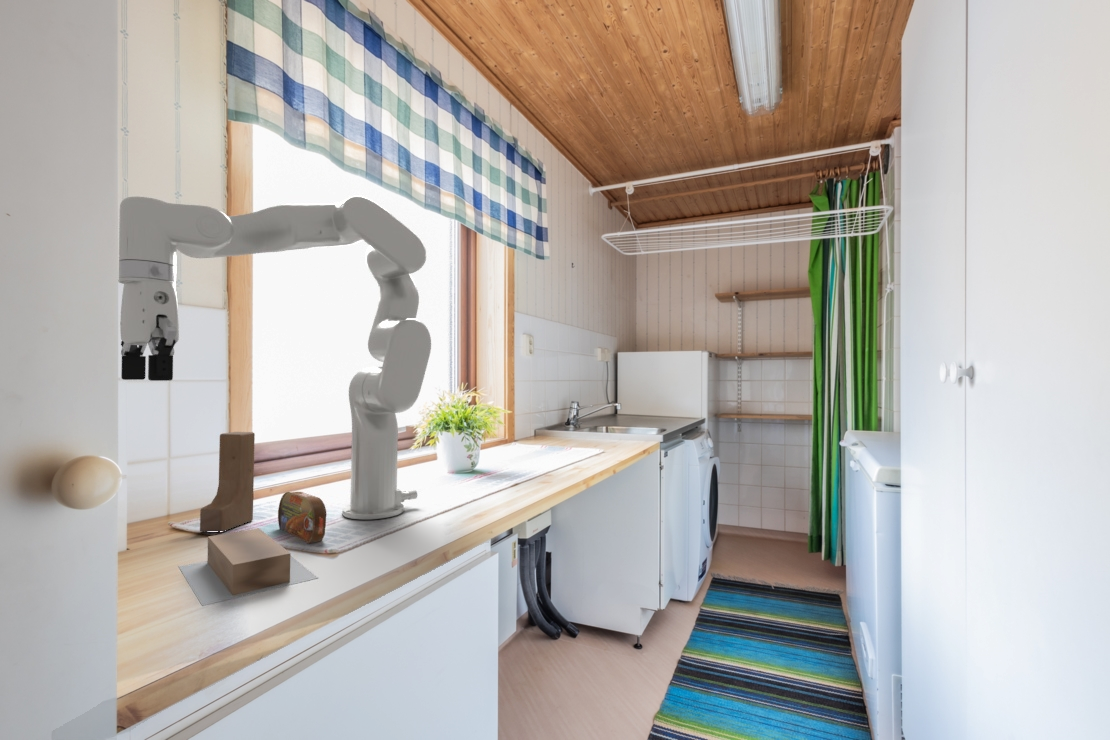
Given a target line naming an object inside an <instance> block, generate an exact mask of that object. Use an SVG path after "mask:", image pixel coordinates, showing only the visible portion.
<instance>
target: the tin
mask: <svg viewBox="0 0 1110 740" xmlns="http://www.w3.org/2000/svg"><path fill="white" fill-rule="evenodd" d="M277 522H278V529H279V530H280V531H284V532H286V533H288V534H291V535H292V536H295V538H296V537H297V538H298V539H301V540H302V541H304V542H306V544H307V545H309V544H313V543H318V542H321V541H323V539H324V537H325V534H326V527H327V526H326V525H327V509H326V505H325V503H324V502H323V499H321V498H320V497H318V496H315V495H311V494H309V493H305V492H303V491H291V492H290V491H286V492H285V493H283V495H282V496H281V498H280V501H279V504H278V510H277Z"/></svg>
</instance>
